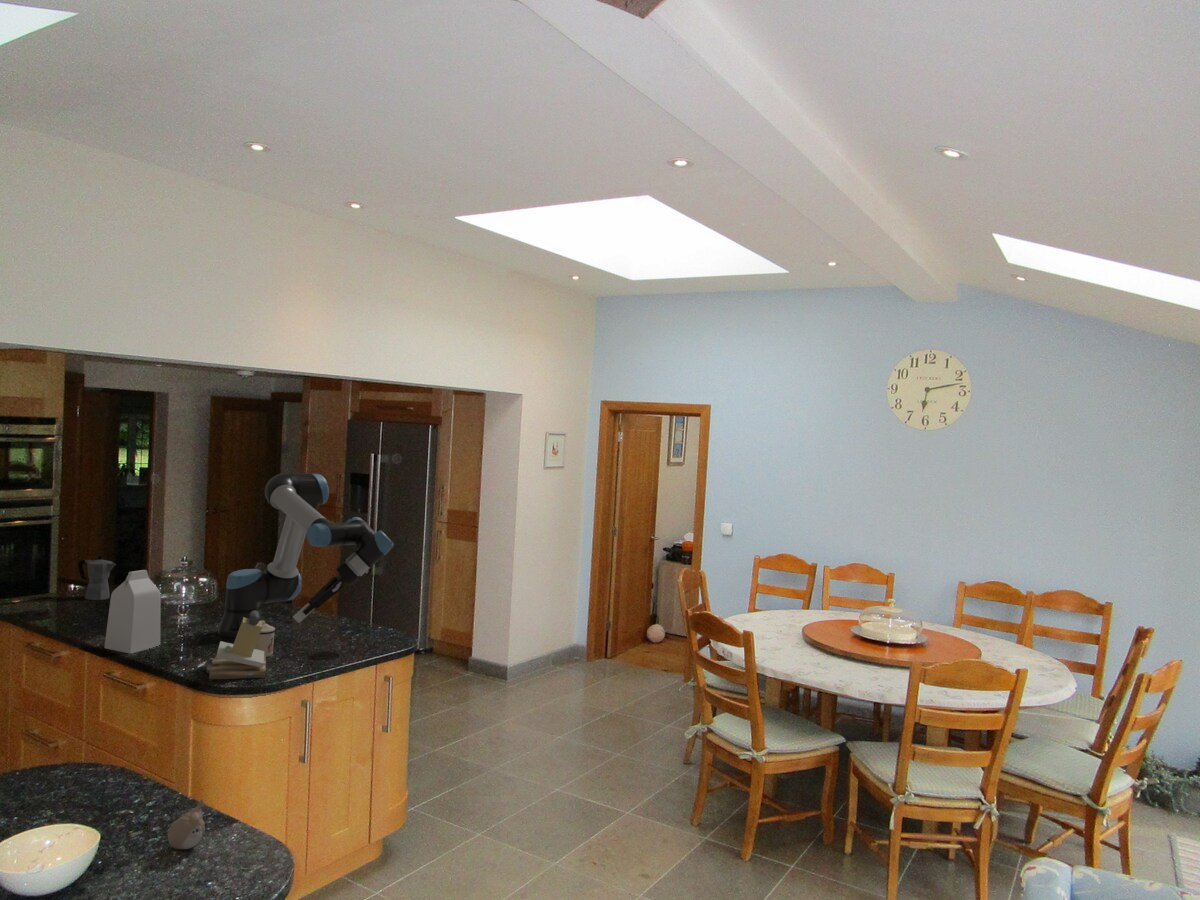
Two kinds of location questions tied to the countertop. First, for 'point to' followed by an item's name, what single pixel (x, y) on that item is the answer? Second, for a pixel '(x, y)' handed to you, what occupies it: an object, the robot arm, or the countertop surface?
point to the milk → (134, 615)
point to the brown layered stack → (234, 670)
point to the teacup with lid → (266, 639)
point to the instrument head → (244, 643)
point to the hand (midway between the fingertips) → (295, 619)
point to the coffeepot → (97, 578)
